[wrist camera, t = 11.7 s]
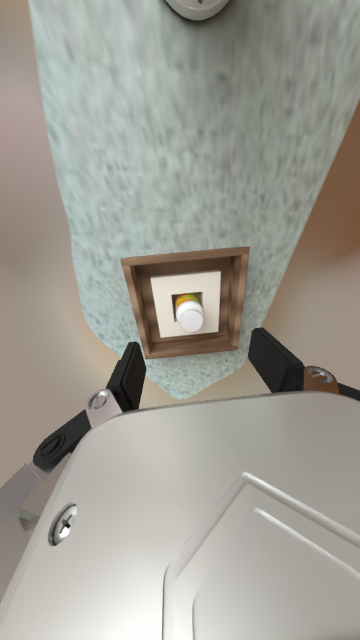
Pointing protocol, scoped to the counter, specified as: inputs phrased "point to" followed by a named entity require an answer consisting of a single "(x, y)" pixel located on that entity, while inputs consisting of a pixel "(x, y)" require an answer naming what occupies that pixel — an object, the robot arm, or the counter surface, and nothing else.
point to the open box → (231, 293)
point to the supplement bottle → (189, 312)
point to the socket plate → (183, 284)
